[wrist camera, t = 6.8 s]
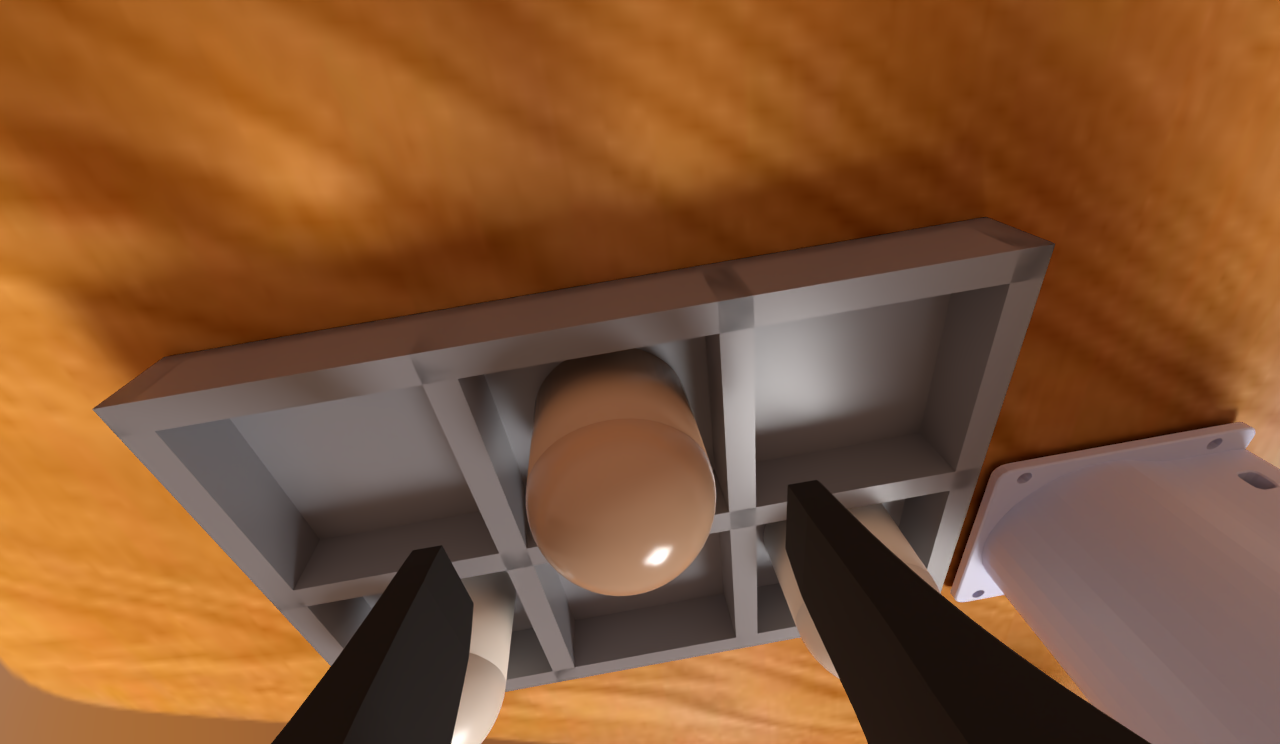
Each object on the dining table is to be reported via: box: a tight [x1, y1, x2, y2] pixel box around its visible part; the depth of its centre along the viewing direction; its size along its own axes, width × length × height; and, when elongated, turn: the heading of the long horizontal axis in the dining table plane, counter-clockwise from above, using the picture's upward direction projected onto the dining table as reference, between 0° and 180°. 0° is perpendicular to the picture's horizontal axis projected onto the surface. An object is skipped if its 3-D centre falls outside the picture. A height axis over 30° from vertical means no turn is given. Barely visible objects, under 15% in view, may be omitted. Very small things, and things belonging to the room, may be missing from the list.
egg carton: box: [93, 217, 1055, 744], centre depth 14 cm, size 21×14×6 cm
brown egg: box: [526, 348, 716, 596], centre depth 12 cm, size 4×4×5 cm
